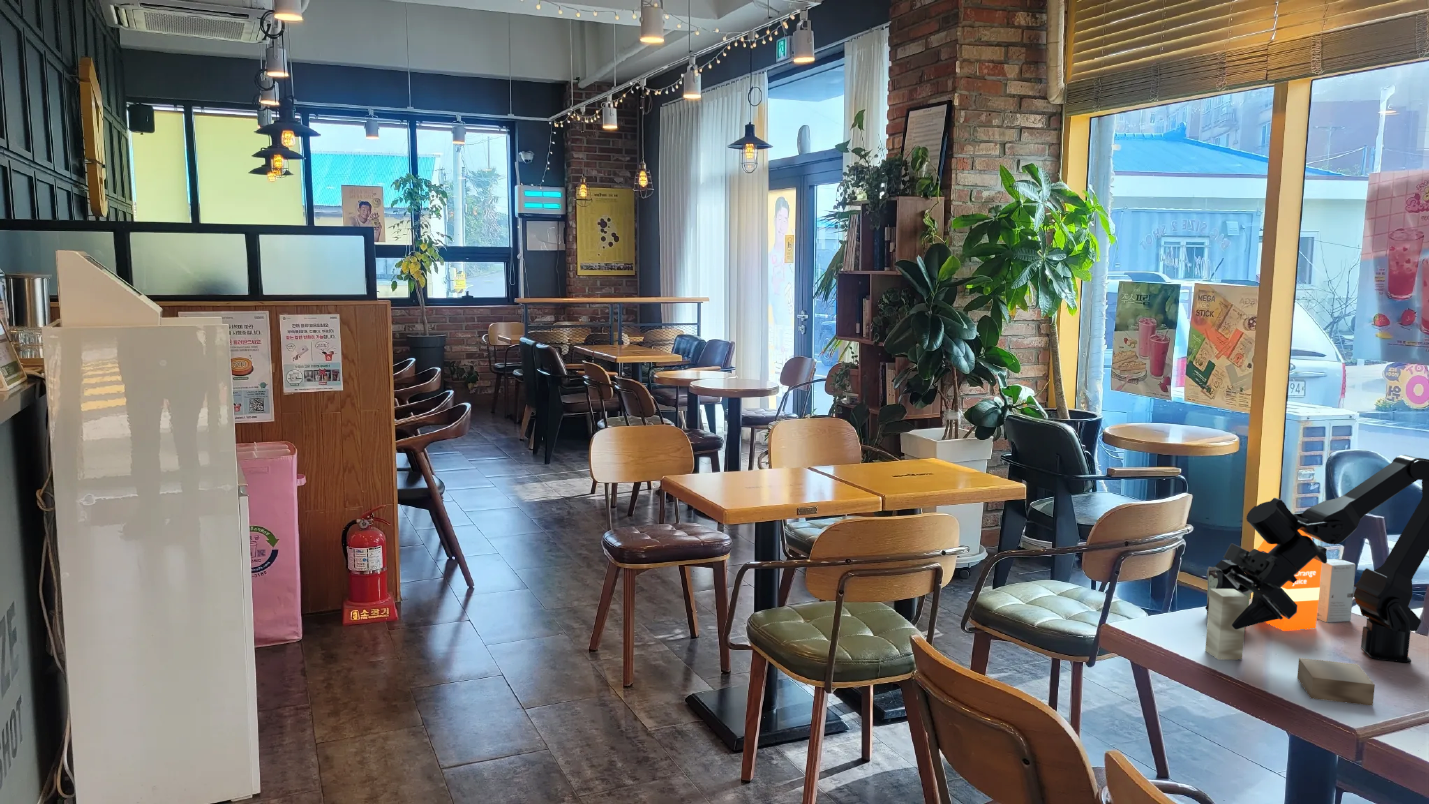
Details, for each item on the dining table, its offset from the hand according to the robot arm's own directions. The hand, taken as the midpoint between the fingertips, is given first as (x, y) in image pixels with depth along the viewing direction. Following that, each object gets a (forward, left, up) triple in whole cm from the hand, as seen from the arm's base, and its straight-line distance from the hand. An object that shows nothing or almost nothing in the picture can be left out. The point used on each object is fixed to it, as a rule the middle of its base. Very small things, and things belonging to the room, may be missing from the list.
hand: (1220, 618), depth 185 cm
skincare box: (-26, -30, -7) cm, 41 cm away
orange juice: (-16, -24, -7) cm, 30 cm away
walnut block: (-16, +12, -7) cm, 21 cm away
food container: (-6, -20, -7) cm, 23 cm away
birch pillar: (-1, 0, -7) cm, 7 cm away
